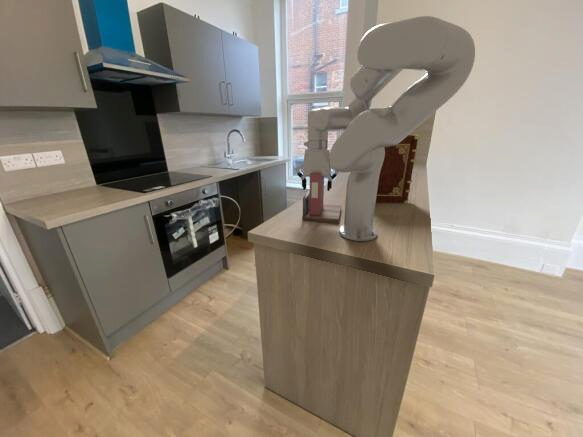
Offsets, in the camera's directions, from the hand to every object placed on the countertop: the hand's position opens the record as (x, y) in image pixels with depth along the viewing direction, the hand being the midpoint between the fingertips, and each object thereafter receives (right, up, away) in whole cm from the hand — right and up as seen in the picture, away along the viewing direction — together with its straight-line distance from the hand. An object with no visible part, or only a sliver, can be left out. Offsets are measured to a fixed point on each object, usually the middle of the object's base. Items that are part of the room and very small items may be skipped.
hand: (316, 189), depth 97 cm
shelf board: (+3, -10, +3) cm, 11 cm away
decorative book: (+34, -3, +20) cm, 40 cm away
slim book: (0, -8, +4) cm, 9 cm away
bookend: (-3, -8, +4) cm, 10 cm away
